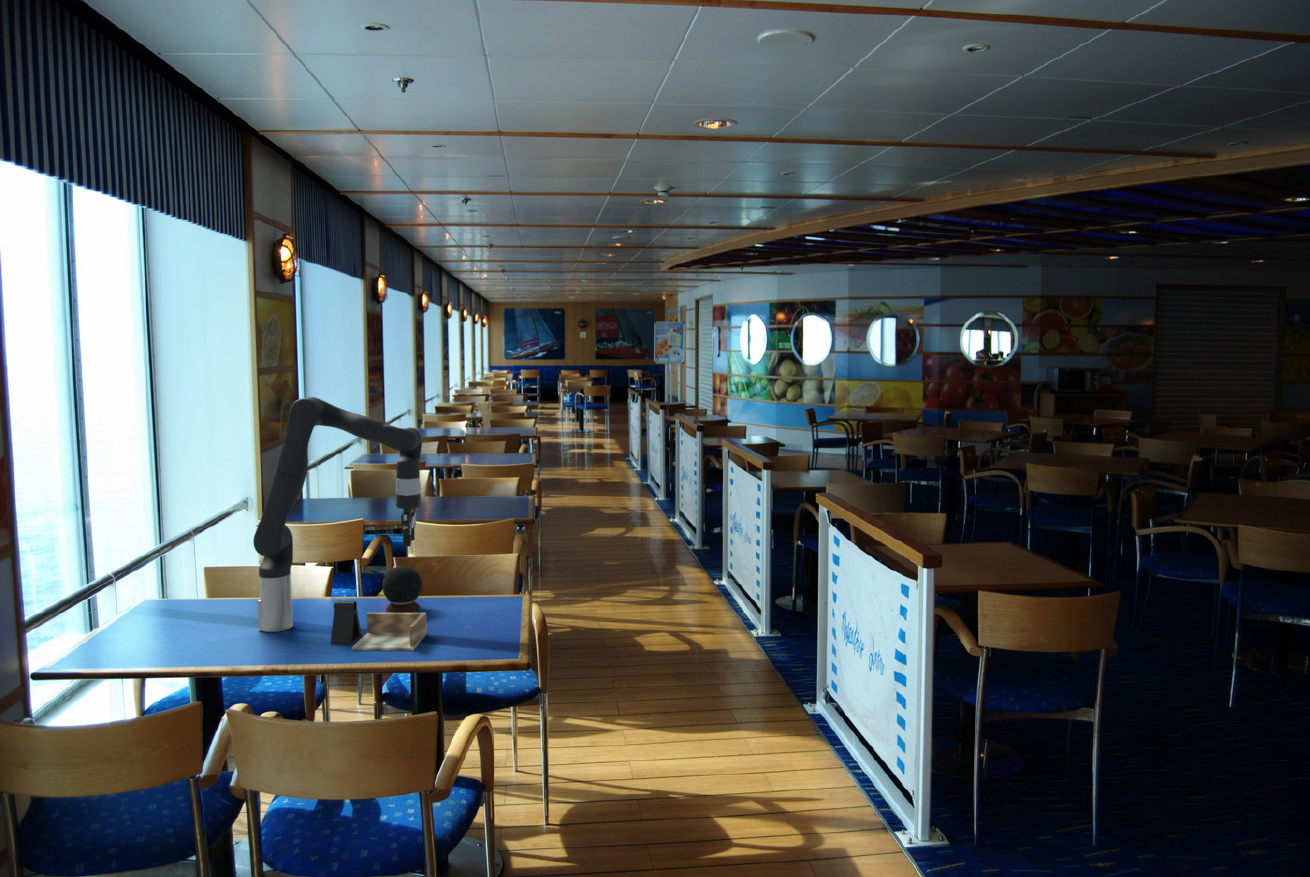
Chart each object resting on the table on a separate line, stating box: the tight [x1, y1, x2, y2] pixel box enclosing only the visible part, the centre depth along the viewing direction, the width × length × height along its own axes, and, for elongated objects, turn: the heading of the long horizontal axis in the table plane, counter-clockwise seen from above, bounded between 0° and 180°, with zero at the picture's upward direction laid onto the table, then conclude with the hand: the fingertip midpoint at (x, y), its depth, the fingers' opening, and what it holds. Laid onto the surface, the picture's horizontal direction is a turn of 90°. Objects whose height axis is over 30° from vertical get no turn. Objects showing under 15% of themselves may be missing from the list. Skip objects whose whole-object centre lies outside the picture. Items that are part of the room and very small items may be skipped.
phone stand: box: [330, 600, 363, 645], centre depth 274 cm, size 9×6×12 cm, turn 175°
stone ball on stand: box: [381, 565, 424, 613], centre depth 306 cm, size 13×13×15 cm
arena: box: [351, 612, 428, 651], centre depth 273 cm, size 18×15×7 cm
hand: (409, 543), depth 283 cm, fingers open, 8 cm apart
